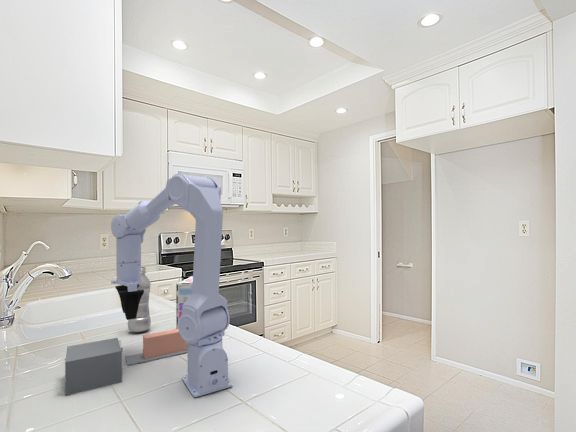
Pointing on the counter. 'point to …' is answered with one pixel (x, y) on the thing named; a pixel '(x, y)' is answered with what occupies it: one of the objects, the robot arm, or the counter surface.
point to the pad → (140, 358)
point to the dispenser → (93, 365)
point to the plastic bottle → (142, 307)
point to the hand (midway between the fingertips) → (129, 315)
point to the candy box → (182, 295)
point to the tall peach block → (162, 343)
